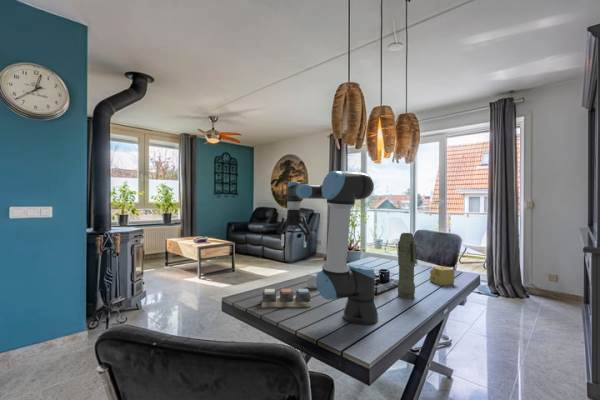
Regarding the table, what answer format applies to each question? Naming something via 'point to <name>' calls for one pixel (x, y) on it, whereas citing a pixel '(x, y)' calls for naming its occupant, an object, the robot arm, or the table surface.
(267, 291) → the button cream
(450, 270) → the cheese
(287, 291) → the button terracotta
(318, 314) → the table surface
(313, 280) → the grey rounded lump
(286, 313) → the table surface
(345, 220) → the robot arm
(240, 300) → the table surface
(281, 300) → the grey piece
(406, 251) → the thermos
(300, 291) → the button slate
